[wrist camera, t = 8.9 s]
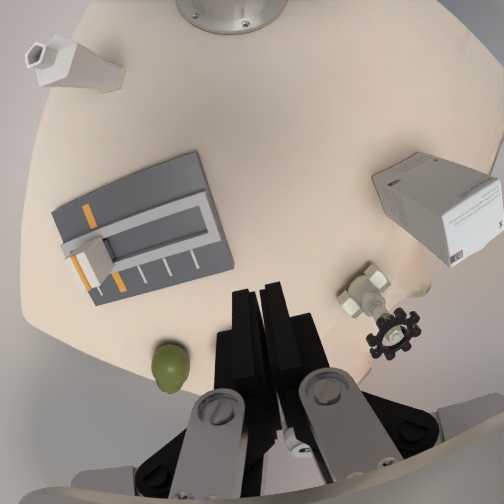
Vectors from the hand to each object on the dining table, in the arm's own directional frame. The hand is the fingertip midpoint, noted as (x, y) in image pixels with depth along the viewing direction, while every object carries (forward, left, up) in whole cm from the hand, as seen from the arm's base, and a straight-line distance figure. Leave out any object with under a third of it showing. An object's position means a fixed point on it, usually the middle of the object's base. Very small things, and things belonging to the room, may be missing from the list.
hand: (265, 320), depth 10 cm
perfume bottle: (-18, -11, -24) cm, 32 cm away
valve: (+16, +11, -24) cm, 31 cm away
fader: (+1, -19, -22) cm, 29 cm away
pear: (+22, -18, -25) cm, 37 cm away
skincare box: (+4, +19, -24) cm, 31 cm away
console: (+1, -14, -24) cm, 28 cm away
